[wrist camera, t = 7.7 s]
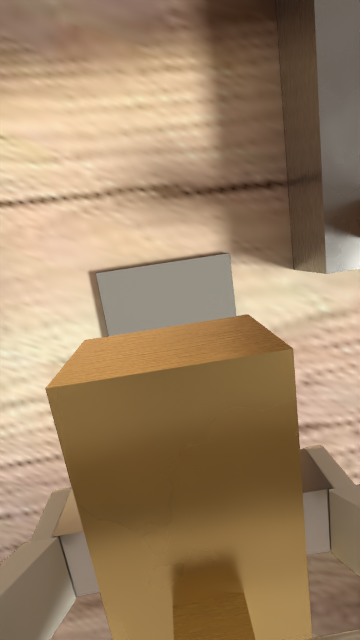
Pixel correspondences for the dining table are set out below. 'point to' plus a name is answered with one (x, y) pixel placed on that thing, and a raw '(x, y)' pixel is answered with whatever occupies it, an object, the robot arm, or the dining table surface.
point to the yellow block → (189, 480)
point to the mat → (167, 294)
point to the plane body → (322, 130)
